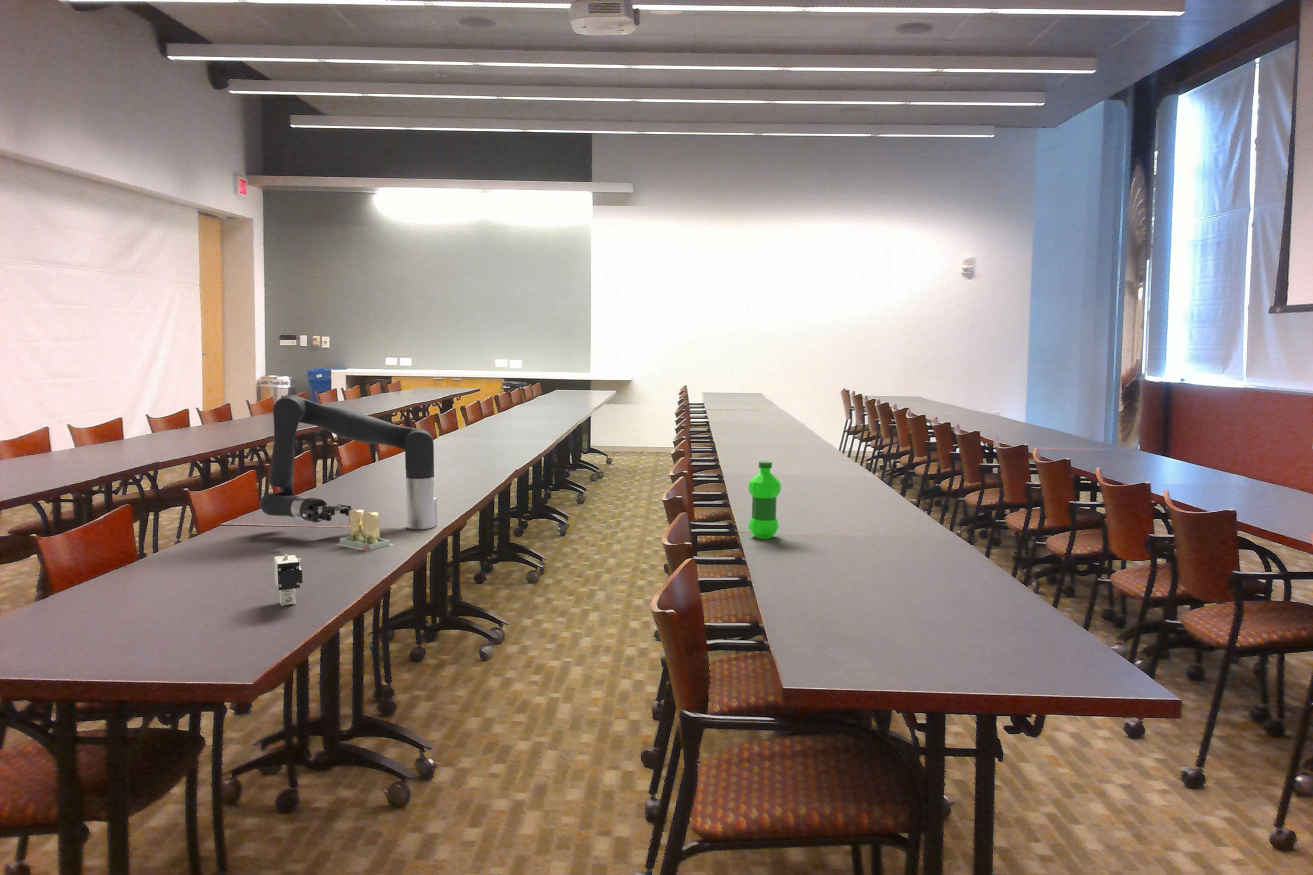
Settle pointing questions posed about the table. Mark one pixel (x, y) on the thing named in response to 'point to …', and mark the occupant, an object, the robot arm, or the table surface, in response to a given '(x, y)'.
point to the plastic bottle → (764, 502)
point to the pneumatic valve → (287, 577)
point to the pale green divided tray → (363, 544)
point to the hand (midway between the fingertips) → (342, 515)
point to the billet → (356, 524)
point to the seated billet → (371, 527)
